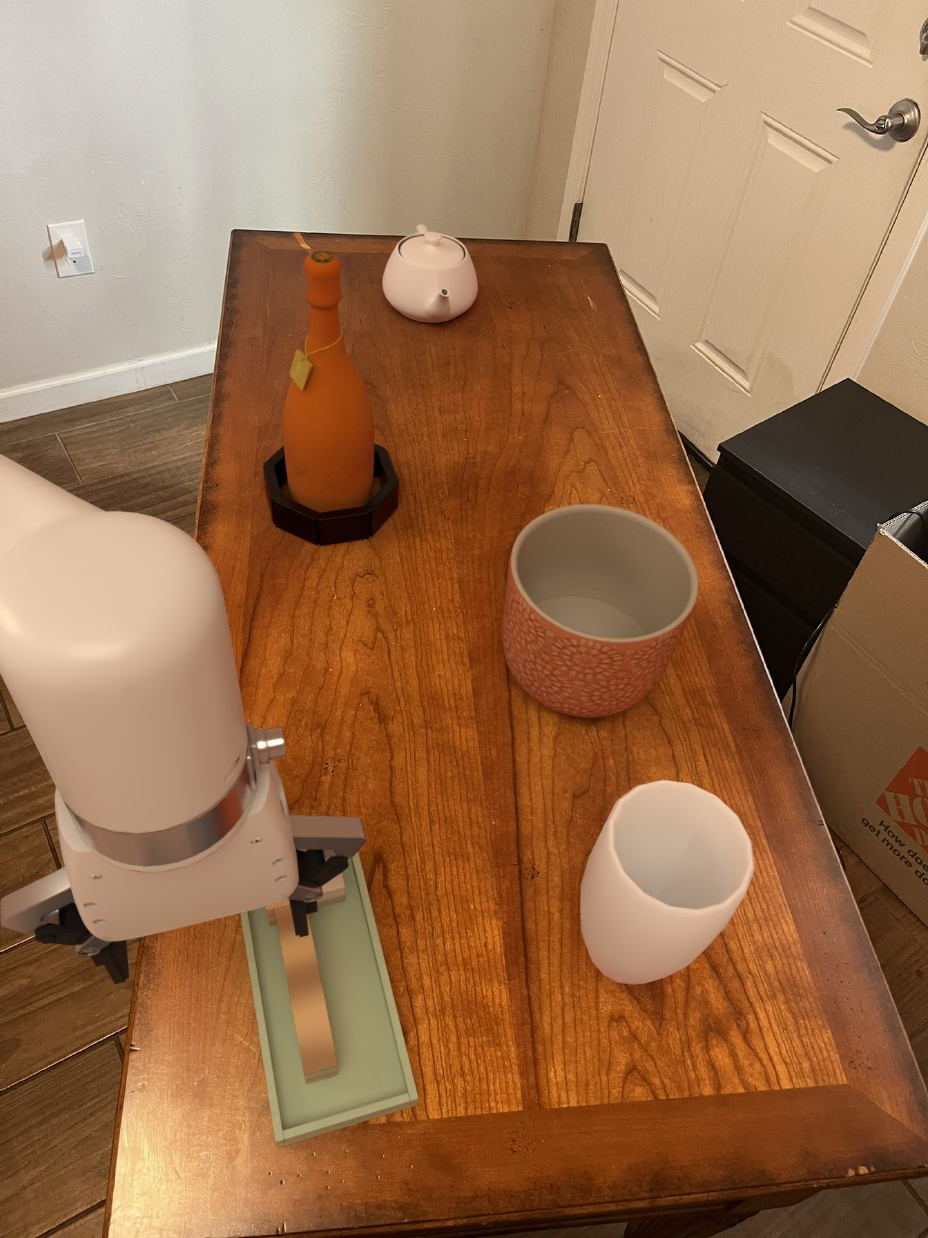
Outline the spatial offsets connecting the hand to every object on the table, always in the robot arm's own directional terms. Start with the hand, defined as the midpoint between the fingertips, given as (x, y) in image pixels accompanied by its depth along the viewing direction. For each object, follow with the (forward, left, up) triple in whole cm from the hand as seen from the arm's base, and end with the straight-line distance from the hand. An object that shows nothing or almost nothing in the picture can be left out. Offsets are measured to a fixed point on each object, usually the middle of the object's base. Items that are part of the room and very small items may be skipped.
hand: (211, 933), depth 52 cm
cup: (+29, -1, -24) cm, 37 cm away
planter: (+37, +28, -24) cm, 52 cm away
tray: (+6, +4, -23) cm, 24 cm away
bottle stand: (+18, +58, -23) cm, 65 cm away
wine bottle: (+18, +58, -24) cm, 65 cm away
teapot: (+40, +95, -24) cm, 106 cm away
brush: (+6, +6, -22) cm, 24 cm away
